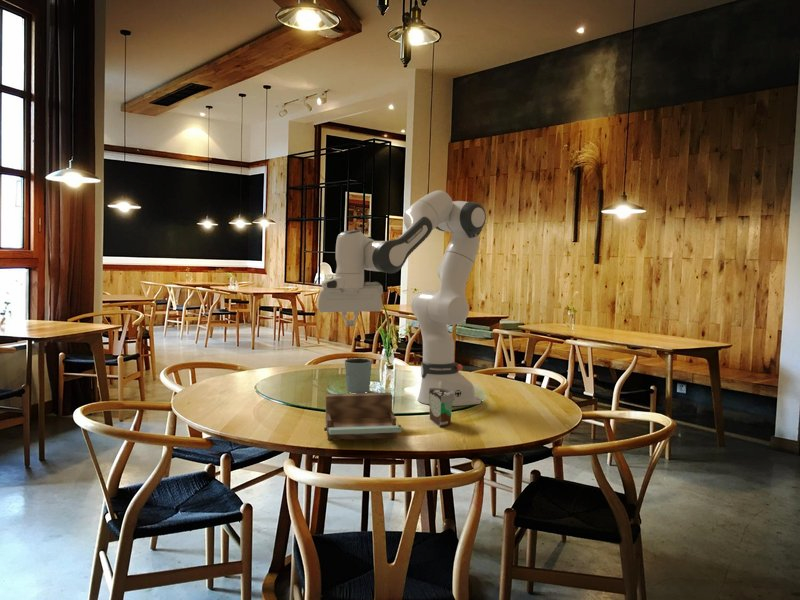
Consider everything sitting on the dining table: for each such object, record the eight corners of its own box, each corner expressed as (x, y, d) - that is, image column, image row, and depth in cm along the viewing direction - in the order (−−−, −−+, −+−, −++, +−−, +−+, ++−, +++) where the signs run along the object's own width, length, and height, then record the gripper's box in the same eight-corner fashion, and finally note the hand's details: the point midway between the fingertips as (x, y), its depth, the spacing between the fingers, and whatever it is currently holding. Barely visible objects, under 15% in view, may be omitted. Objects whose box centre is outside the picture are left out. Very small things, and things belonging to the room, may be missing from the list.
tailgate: (396, 425, 189) (401, 427, 180) (396, 431, 189) (401, 433, 180) (328, 427, 186) (330, 430, 177) (328, 433, 186) (330, 436, 177)
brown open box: (393, 424, 204) (393, 392, 203) (400, 438, 189) (401, 404, 188) (322, 426, 200) (322, 394, 199) (324, 440, 186) (324, 406, 185)
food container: (460, 427, 201) (460, 395, 200) (441, 428, 199) (441, 396, 198) (446, 417, 213) (446, 386, 212) (428, 418, 211) (428, 387, 210)
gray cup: (373, 389, 251) (373, 358, 250) (369, 395, 241) (369, 363, 240) (347, 388, 252) (347, 357, 251) (342, 394, 242) (342, 362, 241)
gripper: (381, 281, 210) (381, 323, 211) (317, 281, 206) (317, 325, 208) (384, 282, 204) (384, 326, 205) (318, 283, 200) (318, 328, 202)
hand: (350, 325), depth 206 cm, fingers closed
